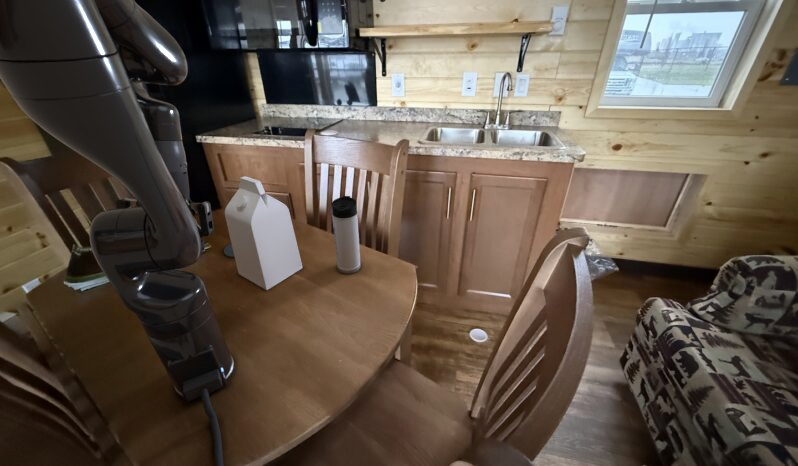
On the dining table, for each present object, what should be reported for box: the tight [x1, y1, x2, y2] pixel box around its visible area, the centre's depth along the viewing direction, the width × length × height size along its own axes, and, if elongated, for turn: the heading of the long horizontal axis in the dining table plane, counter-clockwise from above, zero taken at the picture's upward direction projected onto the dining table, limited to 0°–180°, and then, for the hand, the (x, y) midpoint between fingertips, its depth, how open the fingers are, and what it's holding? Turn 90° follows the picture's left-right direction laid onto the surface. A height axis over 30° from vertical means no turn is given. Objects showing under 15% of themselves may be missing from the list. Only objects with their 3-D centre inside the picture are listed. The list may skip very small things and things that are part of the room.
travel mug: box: [330, 195, 361, 275], centre depth 82 cm, size 6×7×20 cm
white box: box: [224, 175, 303, 291], centre depth 79 cm, size 12×12×26 cm
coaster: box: [223, 243, 235, 259], centre depth 94 cm, size 10×10×1 cm
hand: (172, 255), depth 58 cm, fingers open, 8 cm apart
